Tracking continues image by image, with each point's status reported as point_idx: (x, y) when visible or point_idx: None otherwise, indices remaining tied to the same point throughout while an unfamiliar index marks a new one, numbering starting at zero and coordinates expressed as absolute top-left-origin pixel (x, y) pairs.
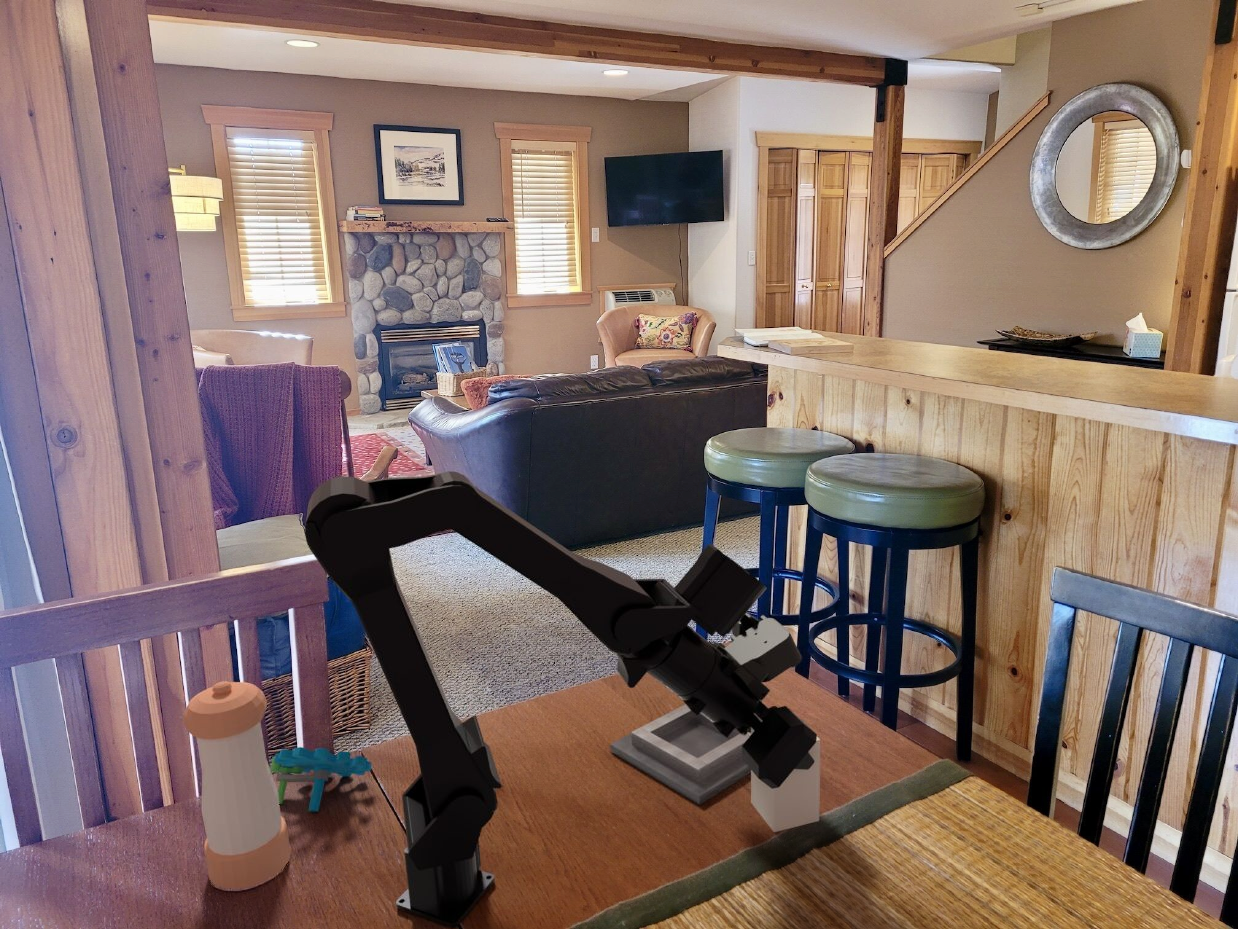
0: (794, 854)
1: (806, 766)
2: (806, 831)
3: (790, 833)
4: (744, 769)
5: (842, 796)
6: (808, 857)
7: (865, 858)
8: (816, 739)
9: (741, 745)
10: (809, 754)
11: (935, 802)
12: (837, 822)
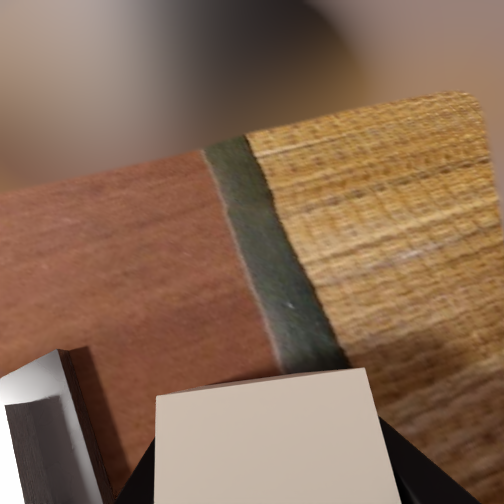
0: None
1: None
2: None
3: None
4: (101, 493)
5: (238, 301)
6: None
7: (397, 336)
8: (359, 383)
9: (25, 494)
10: (400, 435)
11: (284, 186)
12: (304, 341)
